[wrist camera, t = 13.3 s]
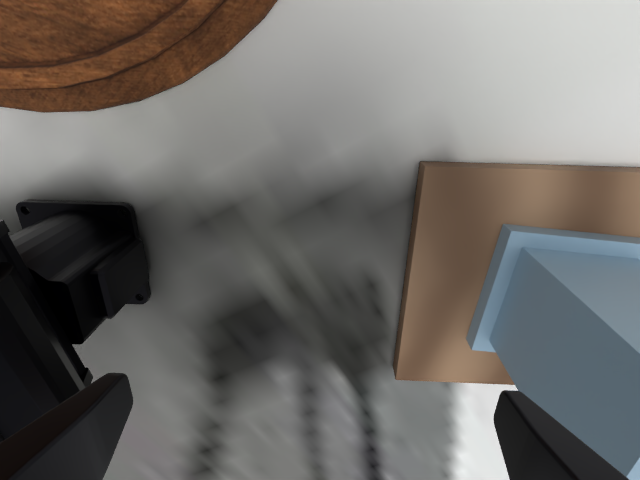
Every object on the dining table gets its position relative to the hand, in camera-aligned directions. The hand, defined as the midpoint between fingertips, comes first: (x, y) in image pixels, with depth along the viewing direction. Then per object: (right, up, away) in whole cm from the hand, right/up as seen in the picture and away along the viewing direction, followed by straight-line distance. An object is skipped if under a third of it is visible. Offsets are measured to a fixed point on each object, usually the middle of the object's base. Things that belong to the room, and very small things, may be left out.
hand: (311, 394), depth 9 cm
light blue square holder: (+13, +1, +12) cm, 18 cm away
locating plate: (+13, +1, +13) cm, 19 cm away
